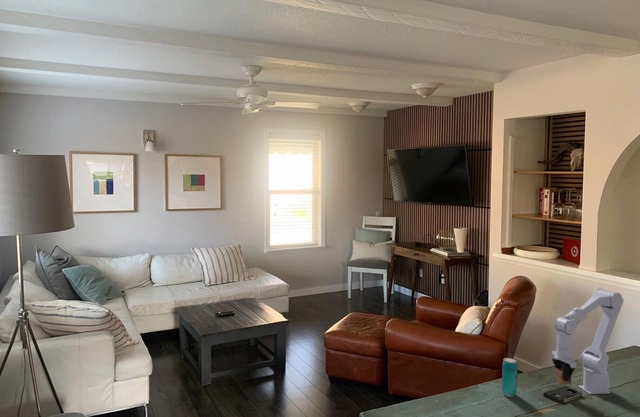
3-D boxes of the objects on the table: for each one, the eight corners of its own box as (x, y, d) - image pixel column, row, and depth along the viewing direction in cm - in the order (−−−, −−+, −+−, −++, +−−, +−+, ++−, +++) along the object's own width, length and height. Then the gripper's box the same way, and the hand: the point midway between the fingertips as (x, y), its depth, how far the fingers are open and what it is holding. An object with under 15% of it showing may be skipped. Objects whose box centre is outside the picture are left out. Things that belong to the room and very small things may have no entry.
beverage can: (517, 398, 207) (518, 363, 206) (503, 396, 208) (504, 362, 207) (515, 392, 212) (516, 358, 211) (500, 391, 214) (501, 357, 213)
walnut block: (564, 379, 211) (565, 367, 211) (571, 383, 207) (571, 372, 206) (554, 379, 211) (555, 368, 210) (560, 384, 206) (561, 372, 206)
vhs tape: (560, 404, 202) (560, 400, 202) (543, 397, 209) (543, 392, 209) (582, 397, 209) (582, 393, 208) (565, 390, 215) (565, 386, 215)
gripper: (545, 341, 215) (544, 371, 215) (565, 353, 200) (564, 385, 201) (561, 340, 215) (560, 371, 216) (581, 352, 201) (580, 385, 202)
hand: (563, 378), depth 209 cm, fingers closed on walnut block, 4 cm apart
